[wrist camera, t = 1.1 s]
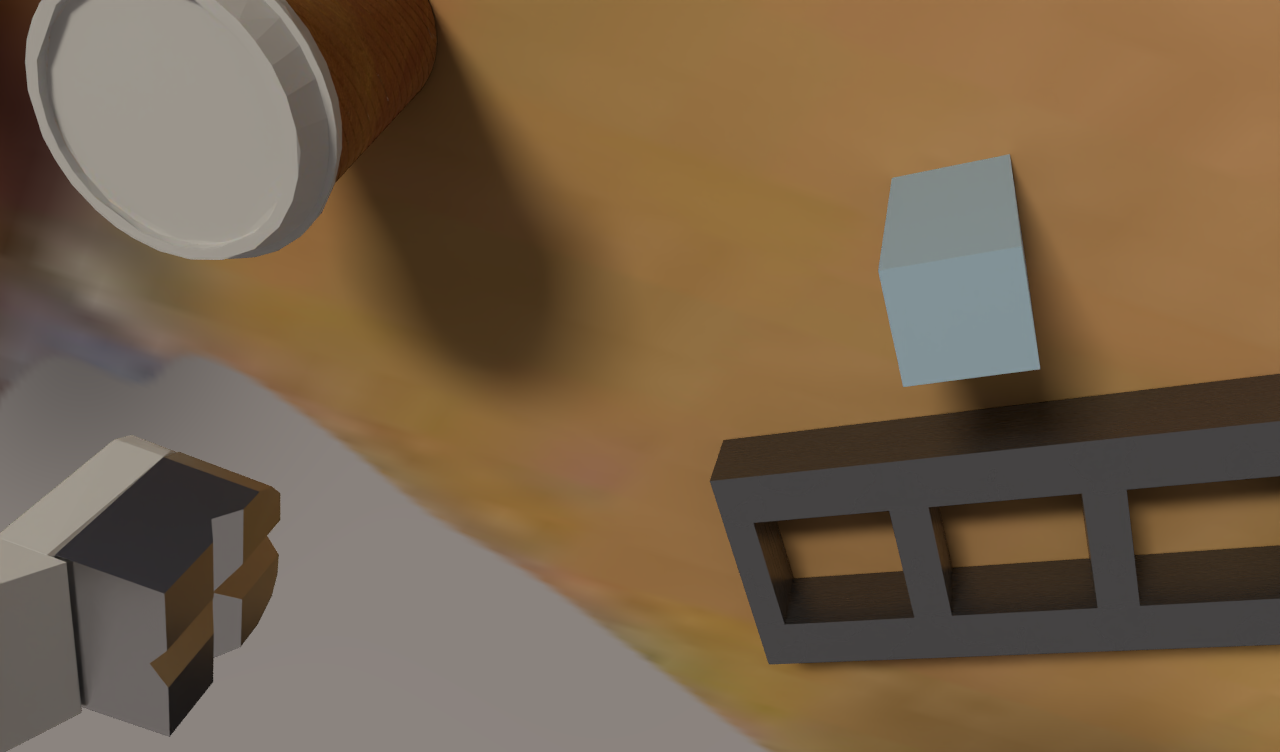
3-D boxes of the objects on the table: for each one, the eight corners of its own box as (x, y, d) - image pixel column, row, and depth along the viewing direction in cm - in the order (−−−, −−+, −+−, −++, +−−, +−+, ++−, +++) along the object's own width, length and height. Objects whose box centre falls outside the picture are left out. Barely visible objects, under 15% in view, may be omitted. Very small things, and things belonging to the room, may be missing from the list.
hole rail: (1317, 369, 37) (1343, 414, 35) (1321, 587, 41) (1345, 642, 39) (723, 440, 45) (709, 481, 42) (778, 617, 49) (768, 664, 47)
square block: (1009, 154, 36) (1022, 246, 29) (1025, 259, 38) (1040, 368, 31) (891, 178, 38) (878, 270, 31) (912, 278, 39) (903, 386, 33)
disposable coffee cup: (455, 182, 42) (299, 318, 32) (238, 101, 43) (19, 210, 33) (501, -61, 37) (331, 11, 27) (253, -149, 37) (-3, -111, 27)
